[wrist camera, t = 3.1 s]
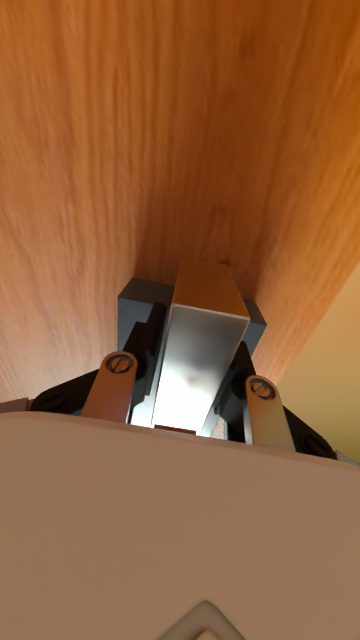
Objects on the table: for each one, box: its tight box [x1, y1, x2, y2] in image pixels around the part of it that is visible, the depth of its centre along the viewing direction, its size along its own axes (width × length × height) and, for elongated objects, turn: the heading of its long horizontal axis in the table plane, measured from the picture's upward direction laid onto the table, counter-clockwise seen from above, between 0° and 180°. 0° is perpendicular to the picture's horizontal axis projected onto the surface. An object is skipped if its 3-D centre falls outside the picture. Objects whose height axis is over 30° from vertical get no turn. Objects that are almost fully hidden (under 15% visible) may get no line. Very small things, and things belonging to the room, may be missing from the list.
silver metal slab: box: [150, 257, 250, 435], centre depth 10 cm, size 8×2×5 cm, turn 170°
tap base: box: [118, 278, 267, 437], centre depth 18 cm, size 18×9×3 cm, turn 170°
